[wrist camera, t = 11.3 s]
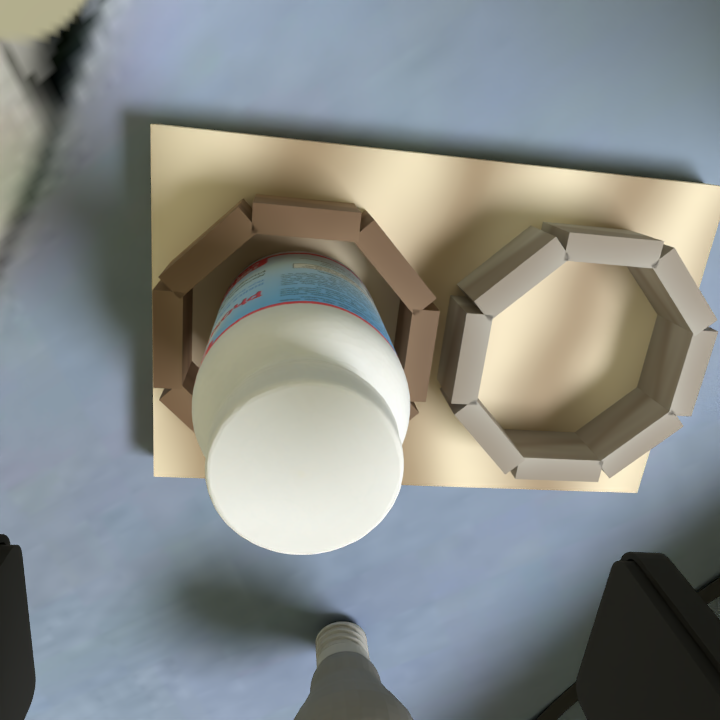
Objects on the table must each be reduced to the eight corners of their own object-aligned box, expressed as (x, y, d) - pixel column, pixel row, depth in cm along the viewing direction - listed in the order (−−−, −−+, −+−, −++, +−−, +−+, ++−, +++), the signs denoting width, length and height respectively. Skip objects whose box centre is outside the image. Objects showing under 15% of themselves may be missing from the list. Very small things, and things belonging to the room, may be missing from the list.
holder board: (705, 183, 26) (775, 194, 22) (621, 476, 31) (667, 524, 27) (158, 124, 23) (133, 124, 19) (160, 458, 28) (141, 511, 24)
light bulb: (417, 609, 33) (470, 805, 23) (363, 690, 34) (391, 903, 25) (315, 572, 31) (327, 766, 22) (262, 658, 33) (252, 873, 23)
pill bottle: (229, 234, 23) (180, 328, 13) (388, 261, 24) (464, 368, 14) (211, 384, 25) (157, 570, 15) (359, 403, 26) (406, 590, 16)
